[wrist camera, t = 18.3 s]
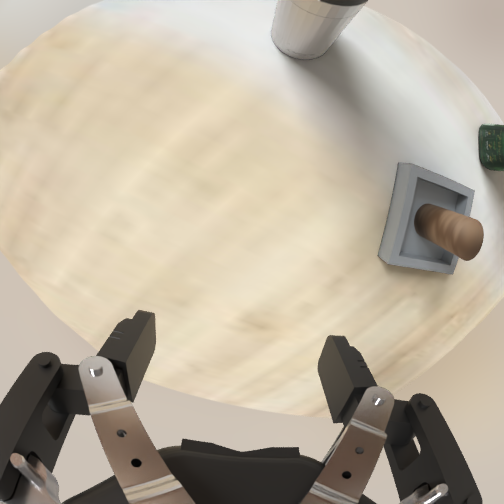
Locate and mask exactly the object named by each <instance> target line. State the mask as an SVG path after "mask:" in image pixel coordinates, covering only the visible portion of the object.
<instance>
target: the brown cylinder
mask: <svg viewBox="0 0 504 504" xmlns="http://www.w3.org/2000/svg"><path fill="white" fill-rule="evenodd" d="M414 227H415V230H416V232H417V234H418V235H419V236H421V237H423V238H425V239H427V240H429V241H431V242H433V243H434V244H436V245H438V246H440V247H442V248H444V249H445V250H447V251H449V252H451V253H453V254H454V255H456V256H458V257H460V258H461V259H463V260H465V261H469V260H471V259H473V258H474V257H475V256H476V255H477V254H478V252H479V251H480V249H481V246H482V243H483V236H484V233H483V227H482V225H481V223H480V222H479V221H478V220H476V219H473V218H471V217H468V216H465V215H462V214H459V213H456V212H454V211H451V210H448V209H445V208H442V207H439V206H436V205H432V204H424V205H422V206H421V207H420V208H419V209H418V210H417V212H416V214H415V218H414Z"/></svg>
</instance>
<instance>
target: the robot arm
mask: <svg viewBox="0 0 504 504" xmlns="http://www.w3.org/2000/svg"><path fill="white" fill-rule="evenodd" d="M367 1H368V0H278V1H277V6H276V10H275V15H274V19H273V25H272V30H271V37H272V39H273V42H274V43H275V45H276V46H277V47H278V48H279V49H280V50H281V51H282V52H283V53H285V54H287V55H289V56H291V57H294V58H297V59H314V58H317V57H319V56H321V55H323V54H324V53H325V52H326V51H327V49H328V48H329V47H330V46H331V45H332V43H333V42H334V41H335V40H336V38H337V37H338V36H339V35H340V34H341V32H342V31H343V30H344V29H345V27H346V26H347V25H348V24H349V23H350V21H351V20H352V19H353V18H354V17H355V15H356V14H357V13H358V12H359V10H360V9H361V8H362V7H363V6H364V5H365V4H366V2H367ZM155 345H156V330H155V314H154V313H152V312H147V311H142V310H138V311H137V313H136V314H135V316H134V317H133V319H128V318H126V319H124V320H123V321H121V322H120V323H118V324H117V326H116V327H115V329H114V331H113V332H112V333H111V335H110V337H108V339H107V340H106V342H105V343H104V345H103V346H102V348H101V349H100V351H99V352H98V354H97V355H96V356H91V357H88V358H86V359H84V360H83V361H82V362H81V363H80V365H67V364H61V362H60V359H59V357H58V356H57V355H55V354H53V353H50V352H42V353H39V354H37V355H36V356H34V357H33V358H32V360H31V361H30V362H29V364H28V365H27V366H26V368H25V369H24V370H23V372H22V373H21V374H20V376H19V377H18V379H17V380H16V382H15V383H14V385H13V386H12V387H11V389H10V391H9V392H8V393H7V395H6V397H5V398H4V400H3V401H2V403H1V404H0V504H61V503H60V500H59V497H58V492H59V485H58V482H57V480H56V478H55V477H54V476H53V474H52V472H53V469H54V466H55V464H56V461H57V458H58V456H59V453H60V450H61V448H62V445H63V443H64V440H65V438H66V436H67V433H68V431H69V428H70V426H71V424H72V421H73V419H74V417H75V415H76V414H79V415H91V417H92V420H93V423H94V426H95V429H96V431H97V434H98V437H99V439H100V442H101V444H102V447H103V449H104V452H105V454H106V456H107V459H108V461H109V463H110V465H111V467H112V469H113V472H114V474H115V475H113V476H112V477H110V478H108V479H107V480H105V481H103V482H101V483H99V484H97V485H95V486H94V487H92V488H90V489H88V490H86V491H84V492H82V493H80V494H78V495H76V496H73V497H71V498H70V499H68V500H66V501H64V502H63V503H62V504H376V503H375V502H373V501H372V500H371V499H369V498H368V497H366V496H365V495H364V494H362V493H363V491H364V489H365V487H366V485H367V483H368V481H369V479H370V477H371V475H372V472H373V470H374V468H375V465H376V463H377V461H378V458H379V456H380V453H381V451H382V448H383V446H384V449H385V452H386V455H387V458H388V461H389V464H390V467H391V471H392V474H393V477H394V481H395V484H396V487H397V491H398V494H399V498H400V503H399V504H482V498H481V495H480V492H479V490H478V488H477V485H476V483H475V481H474V478H473V476H472V474H471V471H470V469H469V467H468V465H467V463H466V461H465V458H464V456H463V454H462V452H461V450H460V448H459V446H458V444H457V442H456V440H455V438H454V436H453V434H452V433H451V431H450V429H449V427H448V425H447V423H446V421H445V419H444V418H443V416H442V414H441V412H440V410H439V408H438V407H437V405H436V403H435V402H434V400H433V399H432V398H431V397H429V396H427V395H425V394H421V393H419V394H415V395H413V396H412V398H411V399H410V400H409V401H401V400H395V399H394V397H393V395H392V394H391V393H390V392H389V391H388V390H387V389H385V388H382V387H378V386H377V384H376V382H375V380H374V378H373V376H372V374H371V372H370V370H369V368H367V364H366V363H365V362H364V359H363V357H362V355H361V353H360V352H359V351H358V350H357V349H355V348H354V347H353V346H350V345H349V343H348V341H347V339H346V337H345V336H333V335H329V336H328V337H327V339H326V342H325V345H324V348H323V350H322V353H321V356H320V358H319V361H318V373H319V377H320V380H321V383H322V386H323V390H324V393H325V396H326V399H327V403H328V406H329V409H330V413H331V416H332V420H333V423H343V425H344V427H343V428H342V430H341V432H340V433H339V435H338V437H337V438H336V440H335V442H334V444H333V445H332V447H331V448H330V450H329V451H328V453H327V455H326V456H325V458H324V459H323V461H322V462H319V461H317V460H315V459H313V458H310V457H307V456H304V455H300V453H299V447H293V448H292V447H285V448H284V447H283V448H282V447H281V448H280V447H279V448H278V447H276V448H275V447H271V448H265V449H260V450H253V451H247V452H240V451H236V450H232V449H229V448H226V447H222V446H219V445H216V444H213V443H208V442H200V441H194V440H188V439H182V444H181V446H172V447H166V448H162V449H159V450H156V448H155V446H154V445H153V443H152V441H151V439H150V437H149V436H148V434H147V432H146V430H145V429H144V427H143V425H142V423H141V421H140V419H139V417H138V415H137V413H136V411H135V409H134V407H133V405H132V403H131V402H134V399H135V397H136V394H137V392H138V389H139V387H140V385H141V382H142V380H143V377H144V375H145V372H146V370H147V368H148V365H149V363H150V360H151V358H152V356H153V353H154V350H155ZM415 436H416V437H417V439H418V442H419V444H420V448H421V451H420V454H419V452H418V450H417V448H416V445H415V443H414V440H413V438H414V437H415Z"/></svg>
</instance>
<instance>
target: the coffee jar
mask: <svg viewBox="0 0 504 504" xmlns="http://www.w3.org/2000/svg"><path fill="white" fill-rule="evenodd" d="M479 154H480V160H481V162H482V164H483V166H484V167H486V168H487V169H490V170H495V171H504V125H497V124H482V125H481V126H480V128H479Z"/></svg>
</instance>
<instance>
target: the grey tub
mask: <svg viewBox="0 0 504 504" xmlns="http://www.w3.org/2000/svg"><path fill="white" fill-rule="evenodd" d="M474 192H475V191H474V190H472V189H470V188H468V187H466V186H464V185H462V184H460V183H457V182H455V181H453V180H451V179H448V178H446V177H444V176H441V175H439V174H437V173H434V172H432V171H429V170H427V169H424V168H421V167H419V166H416V165H414V164H409V163H398V168H397V174H396V179H395V184H394V190H393V194H392V199H391V204H390V208H389V213H388V217H387V221H386V226H385V230H384V234H383V237H382V241H381V245H380V249H379V252H378V256H379V257H380V258H381V259H382V260H384V261H385V262H386V263H387V264H391V265H397V266H404V267H410V268H416V269H422V270H429V271H435V272H441V273H447V274H453V273H454V270H455V267H456V264H457V261H458V256H456V255H454V254H453V253H451V252H449V251H447V250H445V249H444V248H442V247H440V246H438V245H436V244H434V243H433V242H431V241H429V240H427V239H425V238H423V237H421V236H419V235H418V234H417V232H416V230H415V227H414V218H415V214H416V212H417V210H418V209H419V208H420V207H421V206H422V205H424V204H432V205H436V206H439V207H442V208H445V209H448V210H451V211H454V212H456V213H459V214H462V215H465V216H468V217H469V216H470V212H471V207H472V202H473V197H474Z"/></svg>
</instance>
